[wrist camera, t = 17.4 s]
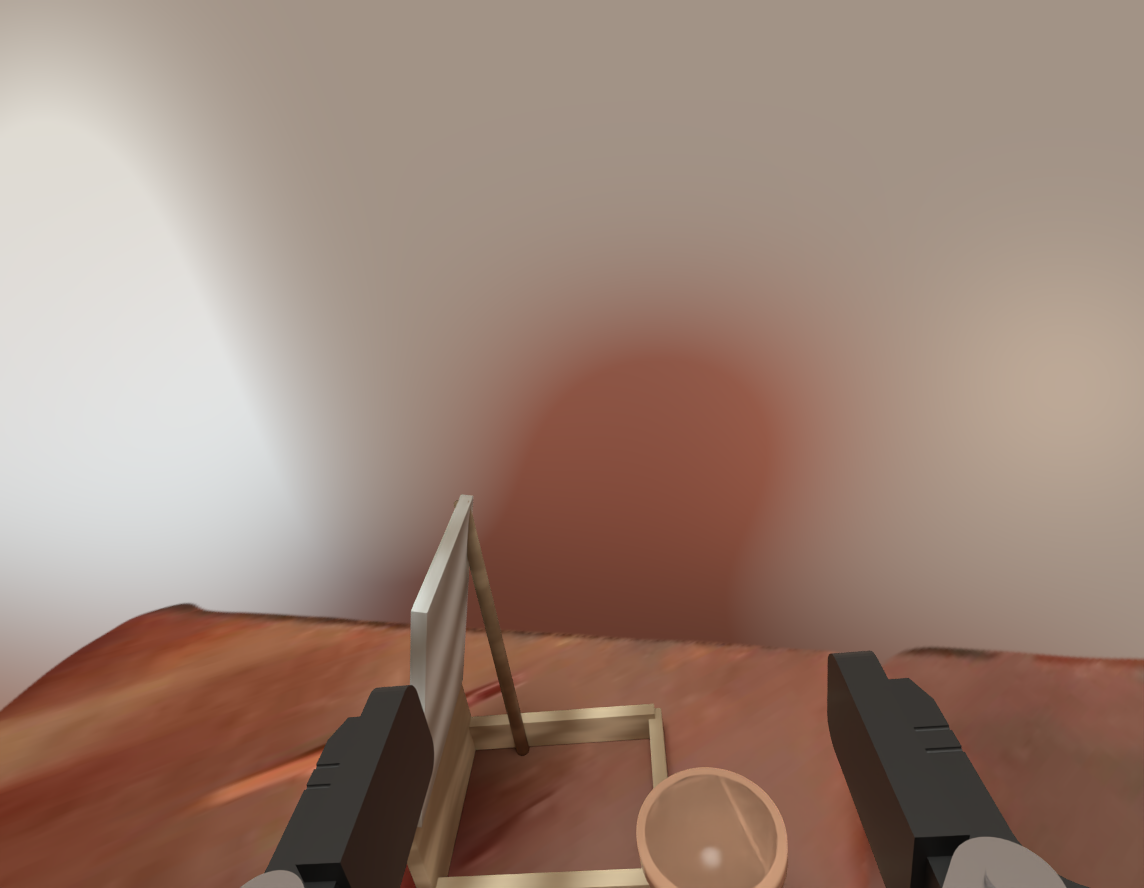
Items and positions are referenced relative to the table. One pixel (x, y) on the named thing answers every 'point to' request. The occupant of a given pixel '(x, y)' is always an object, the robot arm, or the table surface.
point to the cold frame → (491, 718)
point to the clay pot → (711, 833)
